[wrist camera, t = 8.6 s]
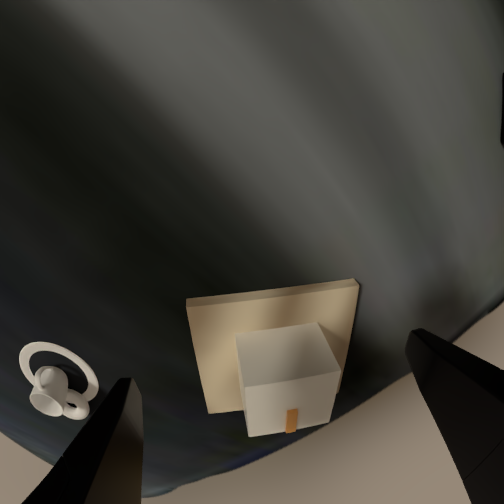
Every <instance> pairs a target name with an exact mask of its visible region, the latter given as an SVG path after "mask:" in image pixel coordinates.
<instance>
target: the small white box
mask: <svg viewBox="0 0 504 504" xmlns="http://www.w3.org/2000/svg"><path fill="white" fill-rule="evenodd" d="M235 342H236V352H237V363H238V373H239V383H240V391H241V396H242V402H243V408H244V413H245V419H246V424H247V430H248V435H249V437H253V436H260V435H266V434H272V433H278V432H284V431H286V433H290V432H295V431H296V429H300V428H305V427H310V426H314V425H319V424H323V423H327V422H329V420H330V416H331V412H332V408H333V404H334V400H335V396H336V391H337V387H338V383H339V378H340V374H341V369H340V367H339V365H338V363H337V361H336V359H335V357H334V355H333V353H332V351H331V349H330V347H329V345H328V343H327V341H326V339H325V337H324V335H323V333H322V331H321V329H320V327H319V325H318V323H317V322H314V323H308V324H302V325H295V326H288V327H281V328H274V329H267V330H259V331H251V332H243V333H235Z"/></svg>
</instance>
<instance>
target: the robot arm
mask: <svg viewBox="0 0 504 504" xmlns="http://www.w3.org/2000/svg"><path fill="white" fill-rule="evenodd" d="M501 142H502V144H504V73H503V114H502V132H501ZM405 354H406V357H407V359H408V362H409V364H410V367H411V369H412V372H413V374H414V377H415V379H416V382H417V384H418V387H419V390H420V392H421V394H422V396H423V398H424V400H425V401H426V403H427V406H428V407H429V409H430V411H431V414H432V415H433V418H434V420H435V422H436V424H437V426H438V428H439V430H440V432H441V434H442V436H443V439H444V441H445V443H446V445H447V447H448V449H449V451H450V454H451V456H452V458H453V461H454V463H455V465H456V467H457V469H458V471H459V474H460V476H461V479H462V480H463V484H464V486H465V489H466V491H467V493H468V496H469V499H470V501H471V504H504V370H500V368H498V367H496V366H494V365H492V364H490V363H489V362H487V361H485V360H483V359H481V358H479V357H477V356H475V355H473V354H471V353H469V352H467V351H465V350H463V349H461V348H459V347H458V346H456V345H454V344H452V343H450V342H448V341H446V340H444V339H442V338H440V337H438V336H436V335H434V334H432V333H430V332H428V331H426V330H425V329H422V328H418V329H415V330H412V331H411V332H410V333H409V336H408V340H407V343H406V346H405ZM143 444H144V440H143V418H142V398H141V394H140V392H139V390H138V388H137V386H136V383H135V381H134V380H133V379H132V378H120V379H119V380H118V381H117V382H116V384H115V385H114V386H113V388H112V389H111V390H110V391H109V393H108V394H107V395H106V397H105V398H104V399H103V401H102V402H101V403H100V405H99V406H98V407H97V409H96V410H95V411H94V413H93V414H92V415H91V417H90V418H89V419H88V421H87V422H86V423H85V425H84V426H83V427H82V429H81V430H80V431H79V433H78V434H77V436H76V437H75V438H74V440H73V441H72V442H71V444H70V445H69V446H68V448H67V449H66V450H65V452H64V453H63V456H61V457H60V459H59V460H58V461H57V463H56V464H55V465H54V467H53V468H52V469H51V471H50V472H49V473H48V474H47V476H46V477H45V478H44V479H43V480H42V481H41V483H40V484H39V485H38V486H37V487H36V488H35V489H34V491H33V492H32V493H31V494H30V495H29V496H28V497H27V498H26V499H25V500H24V501H23V502H22V504H141V486H142V463H143Z"/></svg>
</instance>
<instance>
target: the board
mask: <svg viewBox="0 0 504 504" xmlns="http://www.w3.org/2000/svg"><path fill="white" fill-rule="evenodd" d="M358 291H359V284H358V283H357V282H356V281H355V279H354V278H353V279H346V280H339V281H332V282H325V283H317V284H310V285H302V286H294V287H287V288H279V289H270V290H262V291H254V292H245V293H236V294H227V295H218V296H208V297H199V298H189V299H186V308H187V314H188V319H189V324H190V330H191V335H192V340H193V345H194V350H195V354H196V359H197V364H198V368H199V373H200V378H201V382H202V386H203V391H204V395H205V399H206V404H207V408H208V412H209V414H210V413H220V412H229V411H238V410H244V408H243V402H242V396H241V391H240V383H239V373H238V363H237V352H236V342H235V333H243V332H251V331H259V330H267V329H274V328H281V327H288V326H295V325H302V324H308V323H314V322H317V323H318V325H319V327H320V329H321V331H322V333H323V335H324V337H325V339H326V341H327V343H328V345H329V347H330V349H331V351H332V353H333V355H334V357H335V359H336V361H337V363H338V365H339V367H340V369H341V374H340V378H339V383H338V387H337V391H336V393H338V392H339V388H340V383H341V379H342V375H343V370H344V366H345V361H346V356H347V352H348V347H349V342H350V336H351V331H352V326H353V320H354V315H355V309H356V303H357V297H358Z"/></svg>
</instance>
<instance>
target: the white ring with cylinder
mask: <svg viewBox="0 0 504 504" xmlns="http://www.w3.org/2000/svg"><path fill="white" fill-rule="evenodd" d="M43 350H46V351H53V352H56V353H59V354H62V355H64V356H66V357H67V358H69V359H71V360H72V361H74V362H75V363H76V364H77V365H78V366H79V367H80V368H81V369H82V370H83V371H84V373H85V374H86V376H87V379H88V388H87V390H86V391H85V392H84V393H83V394H80V393H78V392H77V391H75V390H72V389H68V379H67V375H66V374H65V373H64V372H63V371H62V370H61V369H59V368H57V367H54V366H44V367H41V368H40V369H38V370H37V372H36V373H35V377H34V376H33V374H32V372H31V370H30V367H29V359H30V357H31V355H32V354H33V353H35V352H37V351H43ZM19 362H20V366H21V369H22V371H23V373H24V375H25V376H26V378H27V379H28V380H29V381H30V383H31V384H32V385H34V388H33V390H32V392H31V395H30V401H31V403H32V405H33V406H34V407H35V408H36V409H38V410H39V411H41V412H42V413H44V414H47V415H50V416H60V415H62V414H63V415H65V416H66V417H68V418H71V419H75V420H80V419H84V418H85V417H87V416H88V414H89V410H90V408H89V404H88V401H90V400H91V399H93V398H94V397H95V396H96V394H97V392H98V388H99V385H98V380H97V377H96V375H95V373H94V372H93V370H92V369H91V368H90V366H89V365H88V364H87V363H86V362H85V361H84V360H83V359H81V358H80V357H79V356H77V355H76V354H74V353H73V352H71V351H69V350H68V349H66V348H63V347H61V346H59V345H56V344H52V343H48V342H33V343H30V344H28V345H26V346H25V347H24V348H23V349H22V350H21V352H20V356H19ZM66 402H67V403H74V404H75V405H76V406H77V408H74V407H71V406H69V405H68V404H67V403H66Z"/></svg>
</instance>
